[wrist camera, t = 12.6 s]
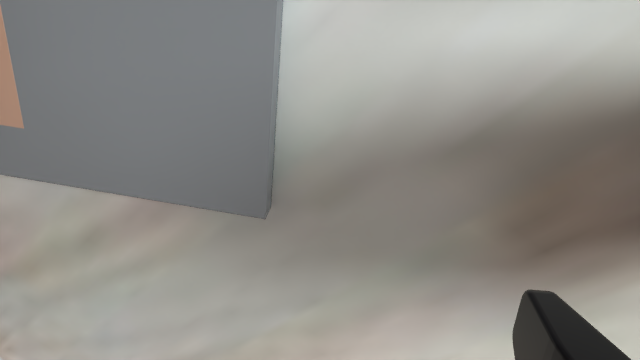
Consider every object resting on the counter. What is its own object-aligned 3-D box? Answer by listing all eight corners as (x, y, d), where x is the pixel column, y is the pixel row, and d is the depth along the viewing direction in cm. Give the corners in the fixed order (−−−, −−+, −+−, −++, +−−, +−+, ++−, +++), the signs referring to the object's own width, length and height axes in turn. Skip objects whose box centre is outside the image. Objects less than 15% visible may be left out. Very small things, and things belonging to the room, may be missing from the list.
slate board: (289, -99, 17) (282, -99, 17) (270, 206, 23) (265, 219, 22) (-199, -155, 19) (-229, -157, 18) (-101, 144, 25) (-121, 154, 24)
